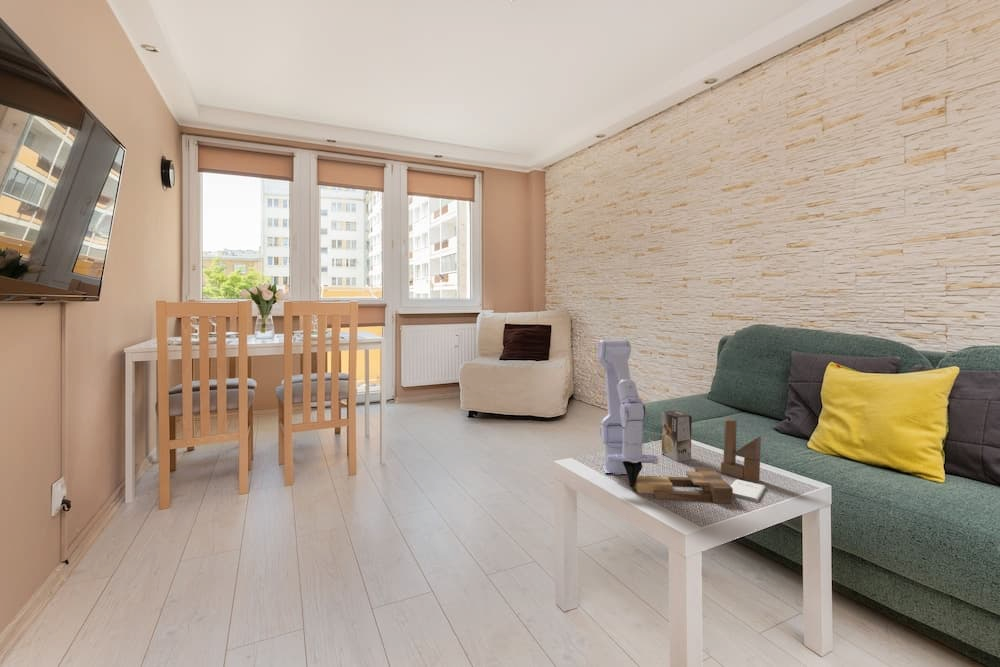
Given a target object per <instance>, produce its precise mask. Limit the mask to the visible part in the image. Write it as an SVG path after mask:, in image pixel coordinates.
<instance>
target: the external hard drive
mask: <svg viewBox="0 0 1000 667" xmlns="http://www.w3.org/2000/svg"><path fill="white" fill-rule="evenodd" d="M730 486H731V487H732V488H733V493H732V498H733V497H734V498H739V499H741V500H742V499H743V500H746V501H749V502H750V501H751V502H755V503H758V501H759V500H760V498H761V496H762V495H763V493H764V492H763V491H765V490H766V485H764V484H762V483H761V484H760V483H757V482H751V481H748V480H743V479H742V480H741V479H735V480H734V481H733V483H732V484H730ZM764 489H765V490H764ZM762 492H763V493H762ZM761 494H762V495H761ZM758 499H759V500H758Z"/></svg>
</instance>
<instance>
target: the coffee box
mask: <svg viewBox="0 0 1000 667" xmlns="http://www.w3.org/2000/svg"><path fill="white" fill-rule="evenodd" d="M661 418H662V420H661V454H662V455H663V454H664V455H663V456H665V455H666V456H665V457H667V458H669V457H670V459H671V458H672V459H671V460H673V461H676V462H683V461H684V462H685V461H691V460H692V426H693V425H692V424H693V423H692V415H691V414H687V413H683V412H681V411H678V410H667V411H662V412H661Z"/></svg>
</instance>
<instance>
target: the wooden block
mask: <svg viewBox="0 0 1000 667" xmlns="http://www.w3.org/2000/svg"><path fill="white" fill-rule="evenodd" d="M723 422H724V423H723V425H724V427H723V430H724V431H723V456H722V457H723V461H721V463H720V473H721V474H723V475H727V476H731V477H735V478H737V479H740V480H741V479H742V480H743V481H747V482H751V481H752V482H751V483H757V482H758V481H760V477H761V476H760V472H761V470H760V468H761V448H762V447H761V443H762V441H761V439H762V436H758V437H755V438H754V439H752V440H751V441H750V442H748V443H747V444H745V445H744V446H743V447H741V448H739V449H737V423H738V422H737V420H736V419H735V418H725V419H724V421H723ZM737 457H741V458H744V459H743V464H741V463H739V462H738V463H737V462H736V458H737ZM756 481H757V482H756Z"/></svg>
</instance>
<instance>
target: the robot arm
mask: <svg viewBox="0 0 1000 667" xmlns="http://www.w3.org/2000/svg"><path fill="white" fill-rule="evenodd" d="M631 353H632V346H631V342H630V341H629V340H628V338H627V339H626V338H625V339H600V340H599V342H598V344H597V358H598V364H599V365H600V366H601V367H603V371H604V379H605V380H604V382H605V393H606V394H605V395H606V407H607V415H606V416H605V417H603V419H601V420H600V423H599V427H600V428H599V438H600V441H601V443H602V444H604V463H605V467H604V466H602V468H604V469H603V471H605V472H604V474H605V473H613V474H612V475H621V474H627V475H626V476H627V479H628V486H629V487H630V488H635V482H636V479H637V477H638V476H639V475H640V473H641V471H642V469H643V464H654V465H658V462H659V461H658V460H659V458H658V456H657V455H653V454H652V455H650V454H644V453H643V431H644V430H643V429H644V428H643V425H644V424H643V423H644V422H645V421H646V418H647V408H646V404H645V402H644V401H643V399H642V398H640V396H639V392H638V389H637V383H636V382H635V381H634V380H632V379H631V374H630V367H629V359H630V356H631ZM614 473H615V474H614Z"/></svg>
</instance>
